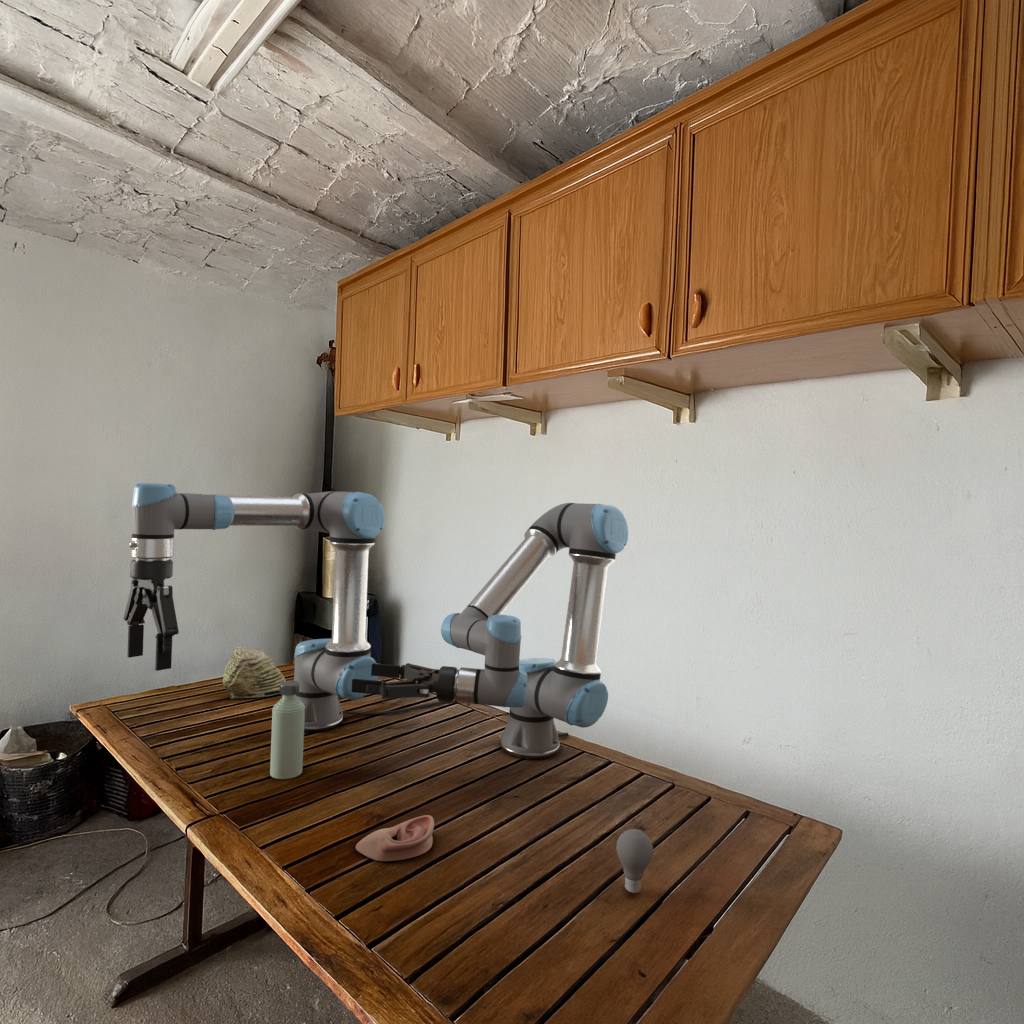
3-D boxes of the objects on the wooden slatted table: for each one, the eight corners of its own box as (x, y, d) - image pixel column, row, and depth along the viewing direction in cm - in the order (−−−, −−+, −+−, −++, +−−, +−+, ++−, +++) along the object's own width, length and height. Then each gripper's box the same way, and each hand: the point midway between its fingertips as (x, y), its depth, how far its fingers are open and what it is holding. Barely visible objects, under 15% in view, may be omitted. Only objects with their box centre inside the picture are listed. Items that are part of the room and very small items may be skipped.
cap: (284, 696, 141) (284, 687, 141) (276, 692, 144) (276, 682, 144) (302, 693, 144) (302, 683, 144) (293, 688, 147) (294, 679, 147)
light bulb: (610, 879, 108) (613, 822, 108) (644, 879, 109) (647, 822, 109) (619, 902, 102) (622, 840, 102) (655, 901, 103) (658, 840, 103)
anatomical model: (348, 834, 112) (375, 804, 123) (347, 856, 112) (374, 824, 123) (419, 845, 109) (440, 813, 120) (418, 868, 109) (439, 834, 121)
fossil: (218, 695, 195) (220, 647, 195) (278, 685, 208) (279, 640, 207) (228, 703, 189) (230, 653, 188) (289, 692, 201) (290, 645, 201)
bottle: (278, 782, 140) (281, 691, 139) (264, 771, 145) (268, 684, 144) (307, 773, 145) (311, 685, 144) (293, 763, 150) (297, 678, 149)
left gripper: (108, 554, 134) (104, 654, 134) (159, 565, 118) (155, 678, 119) (146, 552, 140) (143, 648, 140) (199, 563, 124) (195, 671, 124)
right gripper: (445, 720, 127) (341, 711, 128) (464, 686, 151) (378, 679, 153) (447, 683, 126) (344, 674, 128) (466, 655, 151) (379, 648, 153)
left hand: (148, 662), depth 129 cm, fingers open, 13 cm apart
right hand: (362, 677), depth 141 cm, fingers open, 13 cm apart
